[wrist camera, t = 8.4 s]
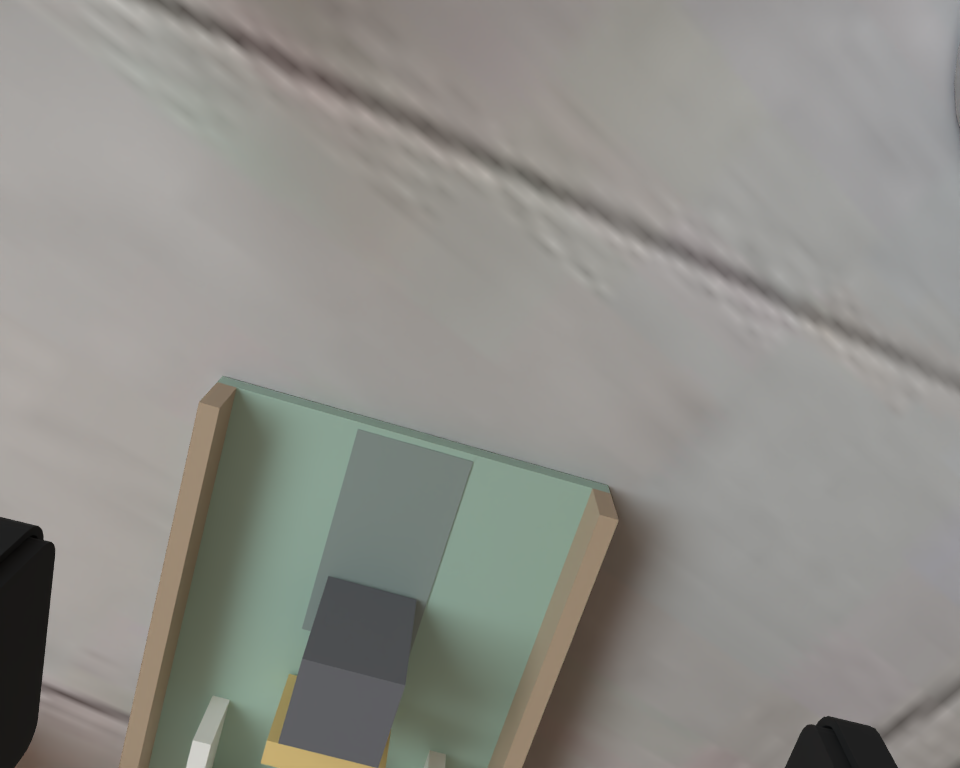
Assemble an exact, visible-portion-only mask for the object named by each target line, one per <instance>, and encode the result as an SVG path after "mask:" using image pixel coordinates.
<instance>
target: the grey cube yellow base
mask: <svg viewBox="0 0 960 768" xmlns="http://www.w3.org/2000/svg"><path fill="white" fill-rule="evenodd" d="M415 608H416V599H413V598H409V597H405V596H401V595H398V594H394V593H390V592H386V591H383V590H379V589H375V588H371V587H368V586H364V585H360V584H356V583H353V582H349V581H345V580H341V579H338V578H334V577H330V576H328V579H327V582H326V585H325V588H324V591H323V595H322V598H321V601H320V604H319V607H318V610H317V613H316V617H315V620H314V623H313V626H312V629H311V632H310V635H309V639H308V642H307V645H306V648H305V651H304V654H303V657H302V661H301V664H300V668H299V671H298V675H297V676H296V675H292V674H289V675H288V678H287V681H286V684H285V687H284V690H283V693H282V696H281V699H280V702H279V705H278V708H277V711H276V714H275V717H274V720H273V723H272V726H271V729H270V732H269V735H268V738H267V742H266V745H265V749H264V752H263V756H262V759H261V764H265V765H269V766H273V767H277V768H386V762H387V755H388V748H389V741H390V734H391V727H392V724H393V721H394V718H395V715H396V712H397V709H398V706H399V703H400V700H401V697H402V694H403V691H404V688H405V685H406V677H407V669H408V662H409V654H410V646H411V639H412V631H413V623H414V616H415Z"/></svg>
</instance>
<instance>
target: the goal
mask: <svg viewBox="0 0 960 768" xmlns="http://www.w3.org/2000/svg"><path fill="white" fill-rule="evenodd" d="M229 701H230V700H229V699H225V698H221V697H217V696H212V698H211V701H210V703H209V705H208V707H207V709H206V712H205V714H204V716H203V718H202V721H201V723H200V725H199V727H198V730H197V732H196V734H195V736H194V739H193V741H192V745H191V749H190V753H189V757H188V761H187V765H186V768H212V766H213V763H214V759H215V755H216V751H217V747H218V743H219V739H220V736H221V732H222V728H223V724H224V720H225V716H226V712H227V709H228V705H229ZM445 762H446V754H443V753H439V752H435V751H431V750H430V751H429V753H428V756H427V759H426V762H425V765H424V768H445Z"/></svg>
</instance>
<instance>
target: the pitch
mask: <svg viewBox="0 0 960 768" xmlns="http://www.w3.org/2000/svg"><path fill="white" fill-rule="evenodd" d="M618 521H619V519H618V516H617V513H616V510H615V506H614V503H613V500H612V497H611V494H610V491H609V487H608V485H604V484H601V483H597V482H594V481H590V480H587V479H583V478H580V477H576V476H573V475H569V474H566V473H562V472H559V471H555V470H552V469H548V468H545V467H541V466H537V465H534V464H530V463H527V462H523V461H520V460H516V459H513V458H509V457H506V456H502V455H499V454H495V453H492V452H488V451H485V450H481V449H478V448H474V447H471V446H467V445H464V444H460V443H457V442H453V441H450V440H446V439H442V438H439V437H435V436H432V435H428V434H425V433H421V432H418V431H414V430H411V429H407V428H404V427H400V426H397V425H393V424H390V423H386V422H383V421H379V420H376V419H372V418H369V417H365V416H362V415H358V414H354V413H351V412H347V411H344V410H340V409H337V408H333V407H330V406H326V405H323V404H319V403H316V402H312V401H309V400H305V399H302V398H298V397H295V396H291V395H288V394H284V393H281V392H277V391H274V390H270V389H266V388H263V387H259V386H256V385H252V384H249V383H245V382H242V381H238V380H235V379H231V378H228V377H224V376H223V377H222V378H221V379H220V380H219V381H218V382H217V383H216V384H215V385H214V386H213V387H212V389H211V390H210V391H209V392H208V393H207V394H206V395H205V396H204V397H203V398H202V400H201V401H200V402H199V405H198V409H197V414H196V418H195V423H194V428H193V432H192V437H191V441H190V446H189V450H188V455H187V459H186V464H185V468H184V473H183V478H182V482H181V487H180V491H179V496H178V500H177V505H176V509H175V514H174V519H173V523H172V528H171V532H170V537H169V541H168V546H167V550H166V555H165V560H164V564H163V569H162V573H161V578H160V582H159V587H158V591H157V596H156V601H155V605H154V610H153V614H152V619H151V623H150V628H149V632H148V637H147V642H146V646H145V651H144V655H143V660H142V664H141V669H140V673H139V678H138V682H137V687H136V692H135V696H134V701H133V705H132V710H131V714H130V719H129V723H128V728H127V733H126V737H125V742H124V746H123V751H122V755H121V760H120V764H119V768H186V765H187V761H188V757H189V753H190V749H191V745H192V741H193V739H194V736H195V734H196V732H197V730H198V727H199V725H200V723H201V721H202V718H203V716H204V714H205V712H206V709H207V707H208V705H209V703H210V701H211V698H212V696H217V697H221V698H225V699H229V700H230V701H229V705H228V709H227V712H226V716H225V720H224V724H223V728H222V732H221V736H220V739H219V743H218V747H217V751H216V755H215V759H214V763H213V766H212V768H277V767H273V766H269V765H265V764H261V759H262V756H263V752H264V749H265V745H266V742H267V738H268V735H269V732H270V729H271V726H272V723H273V720H274V717H275V714H276V711H277V708H278V705H279V702H280V699H281V696H282V693H283V690H284V687H285V684H286V681H287V678H288V675H289V674H292V675H296V676H297V675H298V671H299V668H300V664H301V661H302V657H303V654H304V651H305V648H306V645H307V642H308V639H309V635H310V632H311V629H312V626H313V623H314V620H315V617H316V613H317V610H318V607H319V604H320V601H321V598H322V595H323V591H324V588H325V585H326V582H327V579H328V576H330V577H334V578H338V579H341V580H345V581H349V582H353V583H356V584H360V585H364V586H368V587H371V588H375V589H379V590H383V591H386V592H390V593H394V594H398V595H401V596H405V597H409V598H413V599H416V608H415V616H414V623H413V631H412V639H411V646H410V654H409V662H408V669H407V677H406V685H405V688H404V691H403V694H402V697H401V700H400V703H399V706H398V709H397V712H396V715H395V718H394V721H393V724H392V727H391V734H390V741H389V748H388V755H387V762H386V768H424V765H425V762H426V759H427V756H428V753H429V751H430V750H431V751H435V752H439V753H443V754H446V762H445V768H522V767H523V764H524V761H525V759H526V756H527V754H528V751H529V749H530V746H531V744H532V741H533V738H534V736H535V733H536V731H537V728H538V726H539V723H540V720H541V718H542V715H543V713H544V710H545V708H546V705H547V703H548V700H549V697H550V695H551V692H552V690H553V687H554V685H555V682H556V680H557V677H558V674H559V672H560V669H561V667H562V664H563V662H564V659H565V657H566V654H567V651H568V649H569V646H570V644H571V641H572V639H573V636H574V634H575V631H576V628H577V626H578V623H579V621H580V618H581V616H582V613H583V611H584V608H585V605H586V603H587V600H588V598H589V595H590V593H591V590H592V587H593V585H594V582H595V580H596V577H597V575H598V572H599V570H600V567H601V564H602V562H603V559H604V557H605V554H606V552H607V549H608V547H609V544H610V541H611V539H612V536H613V534H614V531H615V529H616V526H617V524H618Z"/></svg>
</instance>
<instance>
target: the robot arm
mask: <svg viewBox="0 0 960 768" xmlns="http://www.w3.org/2000/svg"><path fill="white" fill-rule="evenodd" d="M954 86H955V101H956V115H957V119H958V123H959V126H960V44H959V48H958V55H957V64H956V72H955V80H954ZM54 560H55V546H54V544H53V543H52V542H49V541H44V540H43V532H42V529H41V528H40V527H39V526H35V525H31V524H27V523H23V522H19V521H15V520H11V519H6V518H2V517H0V768H14V767H15V766H16V764H17V763H18V762H19V760H20V759H21V758H22V756H23V755H24V753H25V752H26V750H27V748H28V746H29V744H30V742H31V740H32V738H33V735H34V732H35V729H36V726H37V720H38V712H39V703H40V693H41V684H42V674H43V665H44V655H45V646H46V636H47V627H48V617H49V608H50V598H51V589H52V579H53V570H54ZM785 768H898V767H897V765H896V763H895V762H894V760H893V758H892V756H891V754H890V753H889V751H888V749H887V747H886V745H885V743H884V742H883V740H882V738H881V736H880V734H879V733H878V732H877V731H876V729H875V728H873V727H871V726H867V725H863V724H859V723H855V722H851V721H847V720H842V719H838V718H834V717H830V716H827V717H823V718H822V719H821V720H820V721H818V723H817V725H812V724H811V725H807V726H806V727H805V728H804V729H803V730H802V732H801V734H800V736H799V738H798V740H797V742H796V745H795V747H794V749H793V751H792V753H791V756H790V758H789V760H788V762H787V764H786V767H785Z"/></svg>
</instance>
